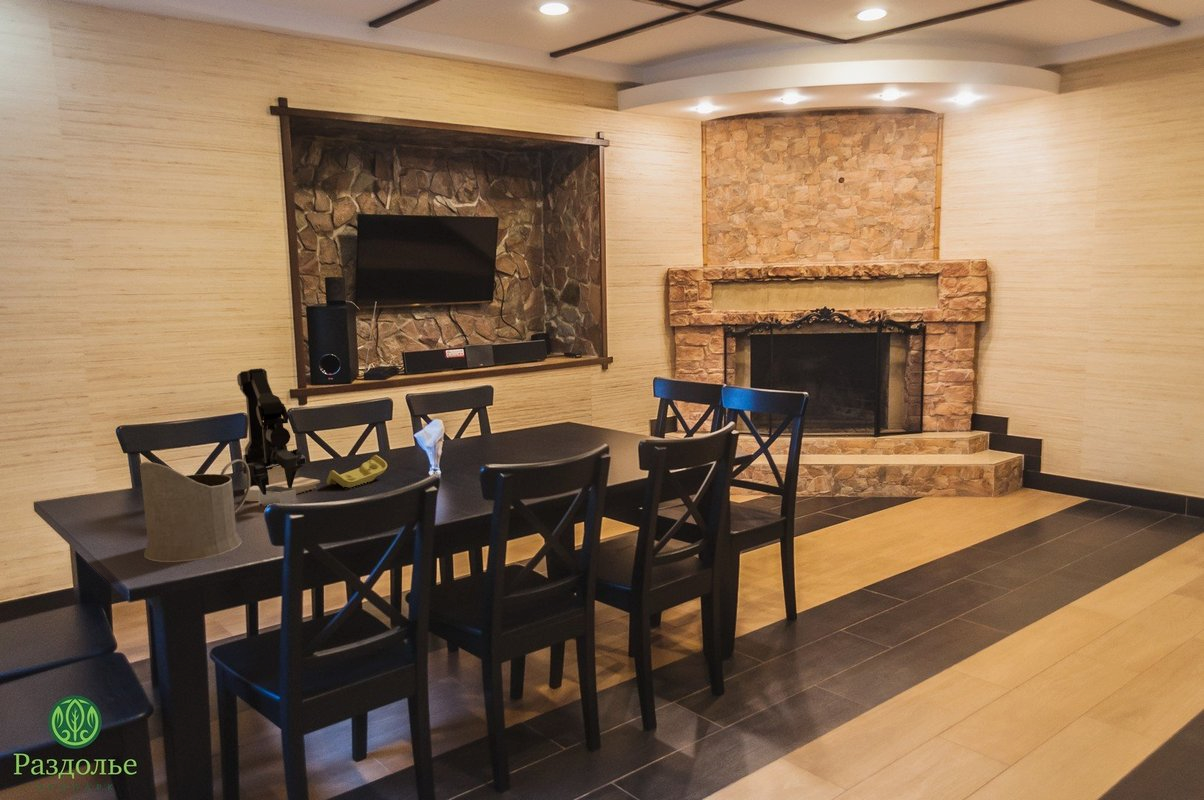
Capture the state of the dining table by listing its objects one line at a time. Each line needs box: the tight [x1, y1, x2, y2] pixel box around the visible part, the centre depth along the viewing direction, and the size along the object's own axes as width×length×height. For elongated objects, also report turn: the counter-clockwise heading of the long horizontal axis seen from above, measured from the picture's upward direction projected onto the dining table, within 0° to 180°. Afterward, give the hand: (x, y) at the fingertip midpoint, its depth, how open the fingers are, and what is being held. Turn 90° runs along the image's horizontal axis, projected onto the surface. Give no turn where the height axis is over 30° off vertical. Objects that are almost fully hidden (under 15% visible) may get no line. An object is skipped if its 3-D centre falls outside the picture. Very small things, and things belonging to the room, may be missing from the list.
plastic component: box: [326, 454, 388, 488], centre depth 306 cm, size 20×7×10 cm
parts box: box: [244, 486, 268, 500], centre depth 285 cm, size 5×5×4 cm
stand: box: [266, 476, 321, 493], centre depth 294 cm, size 10×14×3 cm
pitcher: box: [139, 458, 250, 563], centre depth 238 cm, size 23×32×25 cm
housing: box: [259, 485, 298, 507], centre depth 277 cm, size 10×6×5 cm, turn 56°
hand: (277, 491), depth 277 cm, fingers open, 9 cm apart
